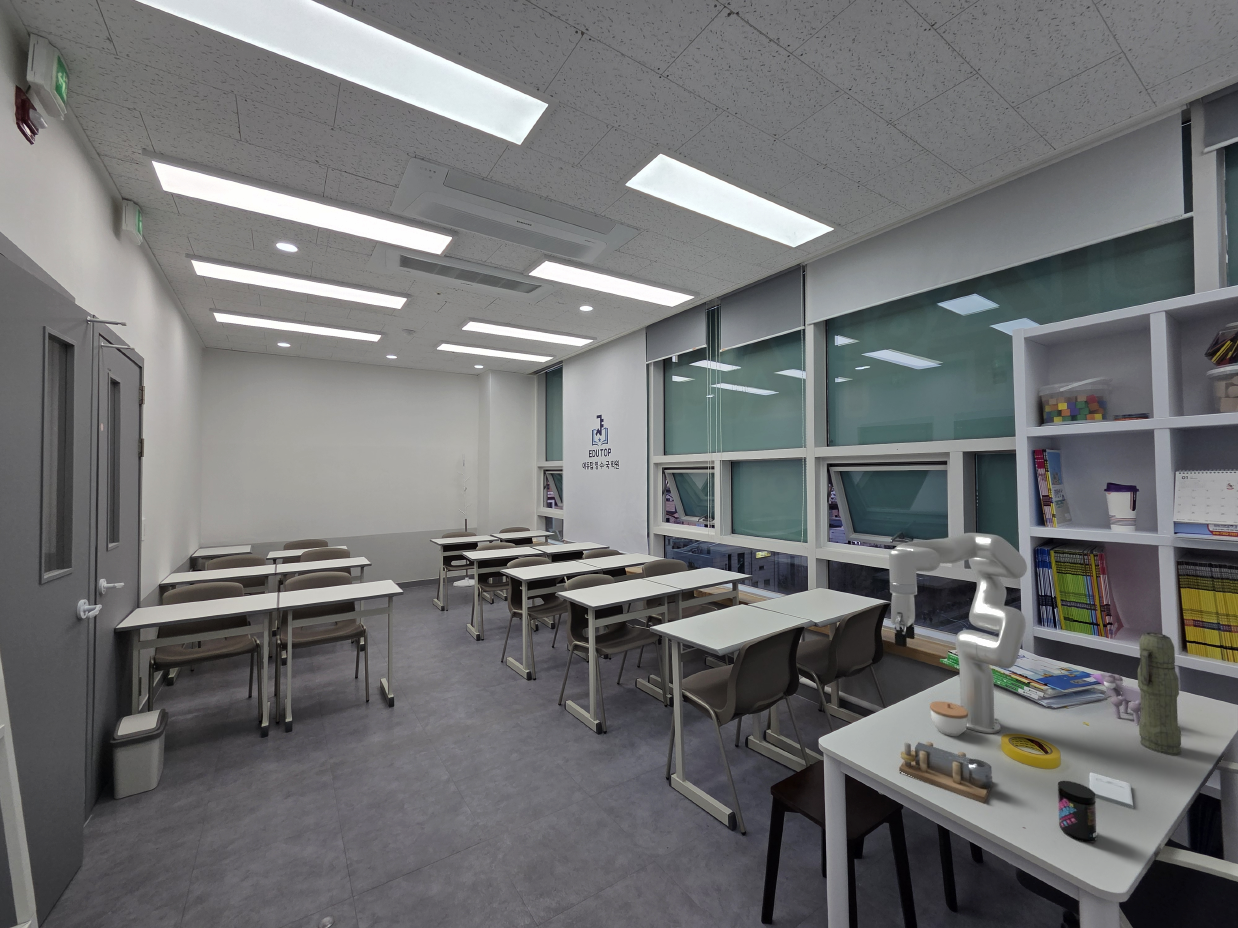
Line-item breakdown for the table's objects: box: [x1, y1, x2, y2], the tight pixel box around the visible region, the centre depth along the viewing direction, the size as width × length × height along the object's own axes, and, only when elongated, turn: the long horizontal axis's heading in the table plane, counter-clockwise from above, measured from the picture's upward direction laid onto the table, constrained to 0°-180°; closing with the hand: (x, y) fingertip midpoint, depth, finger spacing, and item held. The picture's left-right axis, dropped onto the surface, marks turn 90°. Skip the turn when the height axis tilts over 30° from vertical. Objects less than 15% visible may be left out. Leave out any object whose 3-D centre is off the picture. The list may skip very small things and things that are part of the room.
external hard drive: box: [1089, 772, 1134, 810], centre depth 137 cm, size 2×8×12 cm
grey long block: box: [914, 741, 993, 790], centre depth 143 cm, size 6×18×5 cm, turn 46°
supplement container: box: [1057, 780, 1098, 843], centre depth 121 cm, size 7×7×10 cm
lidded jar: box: [929, 700, 968, 737], centre depth 170 cm, size 11×11×9 cm
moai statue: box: [1137, 631, 1182, 756], centre depth 159 cm, size 9×12×35 cm
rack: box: [898, 741, 990, 804], centre depth 144 cm, size 13×20×8 cm, turn 46°
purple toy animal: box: [1089, 671, 1141, 726], centre depth 180 cm, size 20×11×14 cm, turn 23°
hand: (905, 641), depth 163 cm, fingers open, 9 cm apart
